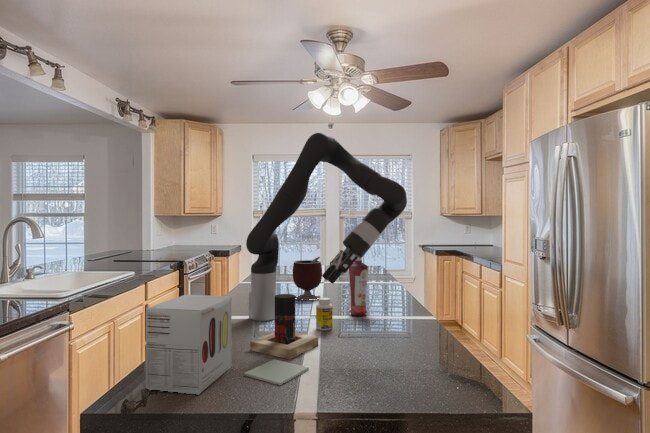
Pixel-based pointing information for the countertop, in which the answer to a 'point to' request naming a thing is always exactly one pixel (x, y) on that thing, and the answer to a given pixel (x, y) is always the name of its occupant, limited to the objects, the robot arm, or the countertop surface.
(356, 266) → the liquor
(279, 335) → the deodorant
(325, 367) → the countertop surface
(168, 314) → the supplement box
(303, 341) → the socket block
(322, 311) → the supplement bottle
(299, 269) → the mate gourd
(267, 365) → the plate
